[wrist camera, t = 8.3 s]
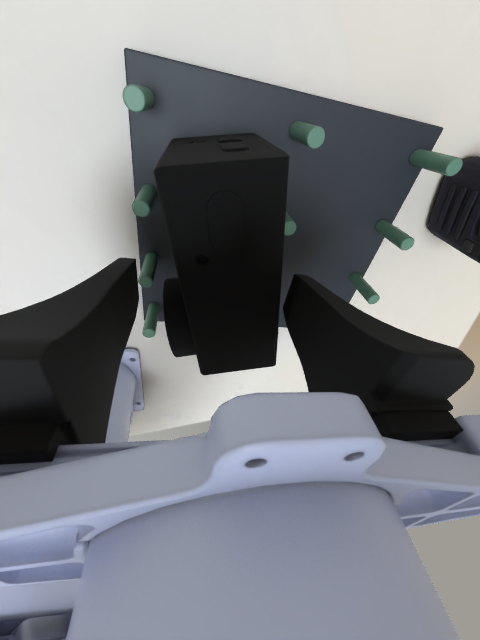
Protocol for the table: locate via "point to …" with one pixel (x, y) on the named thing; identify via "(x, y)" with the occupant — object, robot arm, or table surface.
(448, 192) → the two-way radio
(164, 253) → the rack
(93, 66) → the table surface
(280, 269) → the digital camera
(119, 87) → the table surface
